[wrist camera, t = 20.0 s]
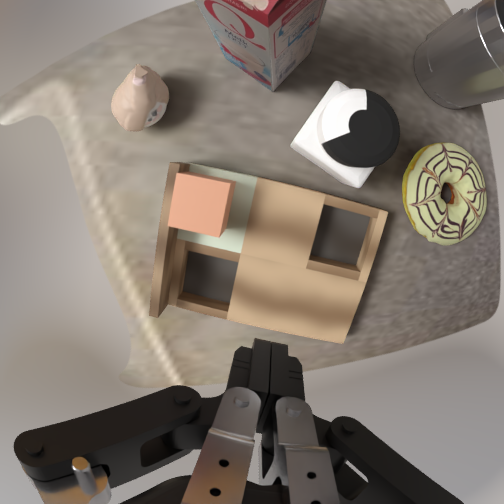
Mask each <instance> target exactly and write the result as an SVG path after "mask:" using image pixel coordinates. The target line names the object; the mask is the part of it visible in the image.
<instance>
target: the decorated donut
mask: <svg viewBox="0 0 504 504" xmlns="http://www.w3.org/2000/svg"><path fill="white" fill-rule="evenodd" d="M444 183H446V184H448V186H449V187H450V190H451V193H452V196H451V200H450V201H449V202H448V203H447V204H446V203H445V202H444V200H442V199H441V197H440V195H441V190H442V186H443V184H444ZM402 197H403V204H404V208H405V211H406V213H407V215H408V217H409V219H410V221H411V223H412V225H413V227H414V229H415V230H416V231H417V232H418V233H419V234H420V235H423V236H424V237H425V238H427V239H428V241H429V242H436V243H438V244H440V245H452V244H455V243H457V242H460V241H462V240H464V239H465V238H467V237H468V236H469V235H471V234H472V232H473V231H474V230H475V229H476V228H477V227H478V225H479V224H480V222H481V220H482V218H483V215H484V214H485V211H486V205H487V198H486V188H485V182H484V177H483V174H482V172H481V170H480V168H479V166H478V164H477V162H476V161H475V160H474V158H473V157H472V156H471V155H470V154H469V153H468V152H467V151H466V150H464V149H463V148H462V147H460V146H457V145H456V144H453V143H435V144H431V145H427V146H425V147H423V148H421V149H420V150H419V151H418V152H417V153H416V154H415V156H414V157H413V158H412V160H411V162H410V163H409V164H408V167H407V169H406V171H405V173H404V175H403V182H402Z"/></svg>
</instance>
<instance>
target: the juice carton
mask: <svg viewBox="0 0 504 504" xmlns="http://www.w3.org/2000/svg"><path fill="white" fill-rule="evenodd" d="M195 1H196V3H197V5H198V7H199V9H200V10H201V12H202V14H203V16H204V18H205V20H206V22H207V23H208V25H209V27H210V29H211V31H212V33H213V35H214V37H215V39H216V41H217V42H218V44H219V46H220V48H221V50H222V52H223V54H224V56H225V58H226V59H227V60H229V61H230V62H232V63H233V64H235V65H236V66H237V67H239V68H240V69H242V70H243V71H245V72H246V73H247V74H249V75H250V76H252V77H253V78H254V79H256V80H257V81H258V82H260V83H261V84H263V85H264V86H265V87H267V88H268V89H269V90H271V91H272V92H273V91H274V90H275V89H276V88H277V87H278V86H279V85H280V84H281V83H282V82H283V81H284V79H285V78H286V77H287V76H288V75H289V74H290V73H291V72H292V71H293V70H294V69H295V68H296V67H297V66H298V65H299V64H300V63H301V62H302V61H303V60H304V59H305V58H306V57H307V56H308V55H309V54H310V53H311V50H312V47H313V43H314V40H315V37H316V33H317V30H318V27H319V23H320V20H321V17H322V13H323V10H324V7H325V3H326V0H195Z"/></svg>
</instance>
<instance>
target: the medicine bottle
mask: <svg viewBox="0 0 504 504" xmlns="http://www.w3.org/2000/svg"><path fill="white" fill-rule="evenodd" d="M399 137H400V128H399V122H398V119H397V116H396V114H395V112H394V110H393V109H392V107H391V106H390V105H389V103H388V102H387V101H386V100H385V99H383V98H382V97H381V96H379V95H378V94H376V93H374V92H372V91H369V90H365V89H350V88H349V87H347V86H346V85H344V84H343V83H341V82H340V81H335V82H334V83H333V84H332V86H331V87H330V88H329V90H328V91H327V93H326V94H325V96H324V97H323V98H322V100H321V101H320V103H319V104H318V105H317V107H316V108H315V110H314V111H313V113H312V114H311V115H310V117H309V118H308V120H307V121H306V123H305V124H304V126H303V127H302V128H301V130H300V131H299V133H298V134H297V136H296V137H295V139H294V140H293V142H292V143H291V148H292V149H294V150H295V151H297V152H298V153H300V154H301V155H303V156H304V157H306V158H307V159H308V160H310V161H311V162H313V163H314V164H316V165H317V166H319V167H320V168H321V169H323V170H324V171H326V172H327V173H328V174H330V175H331V176H333V177H334V178H335V179H337V180H338V181H339V182H341V183H343V184H346V185H349V186H353V187H356V188H360V187H361V186H362V185H363V184H364V182H365V181H366V179H367V178H368V176H369V175H370V173H371V172H372V170H373V169H374V167H375V166H378V165H380V164H382V163H384V162H385V161H387V160H388V159H389V158H390V157H391V156H392V155H393V153H394V152H395V150H396V148H397V145H398V142H399Z"/></svg>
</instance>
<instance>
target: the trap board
mask: <svg viewBox="0 0 504 504" xmlns="http://www.w3.org/2000/svg"><path fill="white" fill-rule="evenodd" d="M179 172H194V173H199V174H204V175H209V176H214V177H219V178H224V179H228V180H233V181H236V184H235V189H234V194H233V198H232V203H231V208H230V213H229V218H228V222H227V227H226V230H225V231H224V232H223V234H222V235H221V236H220V238H218V237H214V236H209V235H205V234H201V233H196V232H192V231H188V230H183V229H179V228H175V227H170V226H168V220H169V214H170V208H171V202H172V196H173V190H174V185H175V179H176V174H177V173H179ZM387 214H388V212H387V211H384V210H382V209H380V208H376V207H373V206H370V205H366V204H363V203H359V202H356V201H352V200H349V199H345V198H342V197H338V196H334V195H331V194H327V193H323V192H319V191H315V190H312V189H308V188H304V187H300V186H296V185H292V184H287V183H283V182H279V181H275V180H271V179H266V178H262V177H257V176H253V175H248V174H244V173H239V172H234V171H229V170H225V169H220V168H215V167H209V166H204V165H199V164H194V163H188V162H170V164H169V170H168V175H167V181H166V186H165V192H164V198H163V204H162V211H161V217H160V224H159V231H158V238H157V246H156V254H155V262H154V271H153V280H152V290H151V300H150V312H149V316H153V317H156V318H158V317H159V316H160V314H161V313H162V312H163V310H164V309H165V308H166V306H167V305H168V304H169V305H172V306H176V307H180V308H183V309H187V310H191V311H195V312H199V313H202V314H206V315H210V316H214V317H218V318H222V319H227V320H231V321H235V322H239V323H243V324H248V325H252V326H257V327H261V328H266V329H270V330H275V331H279V332H284V333H289V334H294V335H299V336H304V337H309V338H314V339H320V340H325V341H330V342H336V343H342V344H343V343H344V340H345V338H346V335H347V333H348V330H349V328H350V325H351V323H352V320H353V318H354V315H355V312H356V310H357V307H358V304H359V302H360V299H361V296H362V293H363V290H364V288H365V285H366V282H367V279H368V276H369V273H370V270H371V267H372V264H373V261H374V258H375V255H376V252H377V248H378V245H379V242H380V239H381V235H382V232H383V228H384V225H385V222H386V218H387Z"/></svg>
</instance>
